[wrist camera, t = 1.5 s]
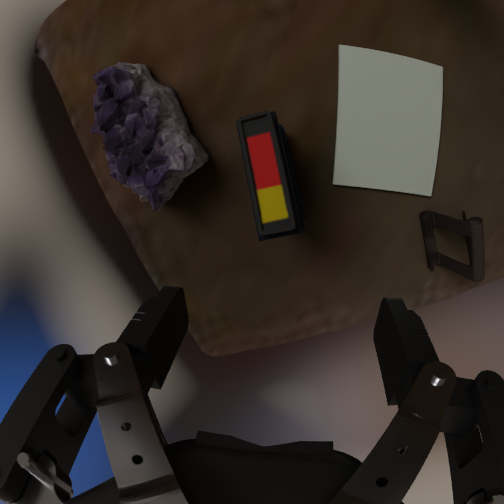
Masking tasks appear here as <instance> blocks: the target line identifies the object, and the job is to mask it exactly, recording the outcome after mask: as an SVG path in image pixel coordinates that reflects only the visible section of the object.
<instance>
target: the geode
mask: <svg viewBox="0 0 504 504" xmlns="http://www.w3.org/2000/svg"><path fill="white" fill-rule="evenodd" d="M93 79H94V81H95V82H96V84H97V86H98V87H97V94H95V95H94V98H93V101H94V103H93V109H94V111H95V124H94V125H93V126H92V127H91V128H90V132H92V133H98V134H101V135H104V136H105V137H104V139H103V143H104V144H105V145H104V146H103V148H104V149H105V150H106V156H107V161H108V167H109V168H110V169H111V170H112V171H111V173H110V176H111V177H112V178H113V179H114V180H116V181H119V182H120V183H122V184H123V185H124V186H125V187H128V188H132V190H133V191H134V193H136V194H137V195H140V200H141V201H142V202H148V201H149V202H150V203H151V206H152V208H153V209H154V211H155V212H156V211H159V210H160V209H161V208H162V206H163V204H164V203H165V202H166V201H167V200H169V199H171V197H172V196H173V194H174V193H175V192H176V191H177V189H178V188H179V187H180V185H181V183H182V182H183V181H184V180H185V178H186V177H187V176H189V175H190V174H192V173H194V172H195V170H197V169H199V168H200V167H201V166H203V165H204V163H205V162H207V161H208V160H209V155H208V153H207V151H206V149H205V148H204V146H203V145H202V144H201V143H200V142H199V141H198V140H197V139H196V137H195V136H194V135H193V134H192V132H191V131H190V127H189V123H188V119H187V117H186V116H185V115H184V112H183V109H182V107H181V105H180V102H179V98H178V96H177V94H176V92H175V91H174V90H173V89H172V88H171V87H170V86H165V87H164V86H163V85H161V84H159V83H158V82H157V81H156V80H155V79H154V78H153V76H152V73H151V71H150V69H149V67H148V66H146V65H141V64H134V65H132V64H129V63H124V62H121V61H120V62H118V63H117V64H116V65H114V66H111V67H108V68H105V69H102V70H101V71H99V72H98V73H97V74H95V75H94V76H93Z"/></svg>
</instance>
